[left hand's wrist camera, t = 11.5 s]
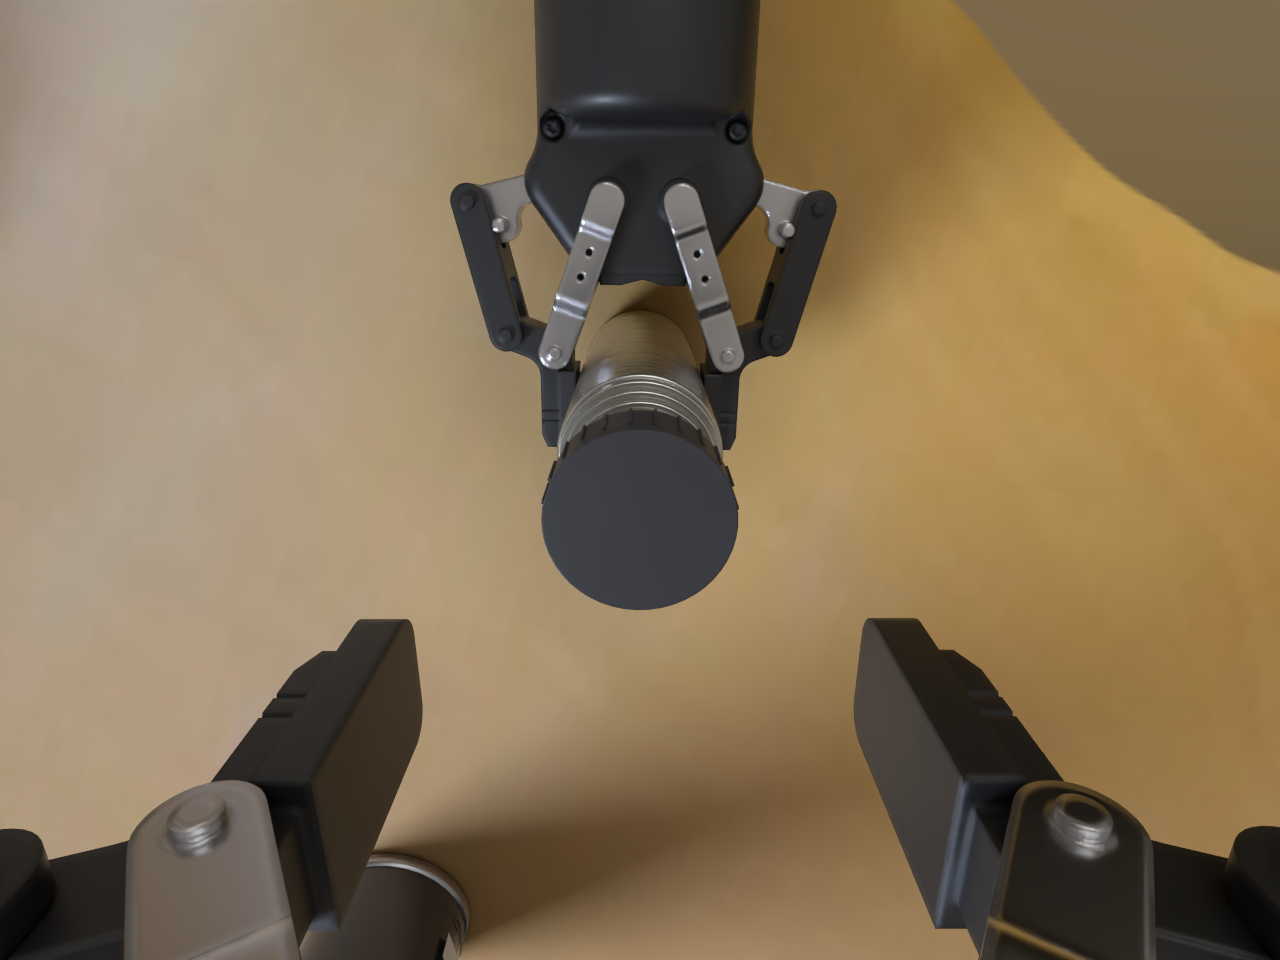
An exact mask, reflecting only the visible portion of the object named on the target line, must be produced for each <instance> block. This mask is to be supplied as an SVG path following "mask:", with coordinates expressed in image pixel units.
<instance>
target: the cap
mask: <svg viewBox="0 0 1280 960" xmlns="http://www.w3.org/2000/svg"><path fill="white" fill-rule="evenodd" d="M548 481H550V482H548V484H547V487H546V490H545V493H544V496H543V499H542V503H541V504H543V507H542V520H541V521H542V532H543V537H544V541H545V545H546V547H547V550H548V553H549V555H550V557H551V559H552V561H553V562H554V564H555V566H556V567H557V569H558V570H559V571H560V573H561V574H562V575H563V576H564V577H565V578H566V579H567V580H568V582H569V583H570V584H572V585H573V586H574V587H575V588H577V589H578V590H579V591H580V592H582V593H584V594H585V595H587V596H588V597H590V598H592V599H594V600H596V601H598V602H601V603H603V604H606V605H610V606H613V607H617V608H622V609H631V610H650V609H657V608H663V607H666V606H670V605H674V604H676V603H679V602H681V601H684V600H686V599H688V598H689V597H691V596H693V595H695V594H696V593H698V592H699V591H701V590H702V589H703V588H705V587H706V586H707V585H708V584H709V583H710V582H711V581H712V580H713V579H714V578H715V577H716V576H717V575H718V574H719V572H720V571H721V570H722V568H723V567H724V565H725V564H726V562H727V560H728V558H729V556H730V554H731V552H732V550H733V547H734V544H735V540H736V536H737V529H738V510H739V506H738V503H737V500H736V497H735V494H734V491H733V488H732V487H733V486H734V483H733V480H732V477H731V474H730V471H729V468H728V466H725V465H724V463H723V461H722V458H721V455H720V452H719V449H718V447H717V445H715V446H713V444H712V443H711V442H710V441H709V440H708V438H707V437H705V436H704V435H703V433H702V430H701V429H700V428H699V429H696V428H695V427H693V426H692V425H690V424H689V423H687V422H685V421H683V420H682V419H681V416H677V417H674V416H671V415H669V414H665V413H661V412H657V409H654V410H653V411H648V410H632V408H629V410H628V411H624V412H618V413H615V414H611V415H608V414H604V417H603V418H601V419H598V420H596V421H594V422H593V423H591V424H589V425H588V426H586V425H584V426H582V430H581V431H580V432H579V433H577V434H576V435H575V436H574V437H573V438H572V439H571V440H570V442H568V441H566V442H565V445H564V448H563V451H562V452H561V454H560V456H559V458H558V460H557V461H555V460H554V462H553V465H552V468H551V471H550V474H549V477H548Z"/></svg>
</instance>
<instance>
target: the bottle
mask: <svg viewBox="0 0 1280 960" xmlns="http://www.w3.org/2000/svg"><path fill="white" fill-rule="evenodd" d="M629 408H632V410H648V411H653V410H654V409H657V412H661V413H665V414H669V415H671V416H674V417H677V416H681V419H682V420H683V421H685V422H687V423H689V424H690V425H692V426H693V427H695V428H696V429H699V428H700V429H701V430H702V433H703V435H704V436H705V437H707V438H708V440H709V441H710V442H711V443H712V444H713V446H715V445H717V447H718V449H719V452H720V455H721V458H722V460H723V446H722V438H721V434H720V431H719V427H718V424H717V422H716V419H715V416H714V413H713V411H712V408H711V405H710V402H709V399H708V397H707V394H706V391H705V388H704V386H703V383H702V380H701V377H700V375H699V372H698V369H697V366H696V363H695V361H694V358H693V355H692V352H691V350H690V347H689V344H688V342H687V339H686V338H685V336H684V334H683V333H682V331H681V330H680V329H679V328H678V327H677V326H676V325H675V324H674V323H673V322H672V321H670V320H669V319H668V318H666V317H664V316H662V315H660V314H657V313H654V312H650V311H642V310H641V311H630V312H626V313H622V314H620V315H618V316H616V317H614V318H612V319H611V320H609V321H608V322H607V323H605V324H604V325H603V326H602V327H601V328H600V330H599V331H598V332H597V334H596V335H595V337H594V339H593V341H592V343H591V346H590V349H589V352H588V354H587V357H586V360H585V363H584V365H583V368H582V371H581V374H580V377H579V379H578V382H577V385H576V388H575V391H574V393H573V396H572V399H571V402H570V405H569V407H568V410H567V413H566V416H565V418H564V421H563V424H562V427H561V430H560V433H559V437H558V442H557V460H558V458H559V456H560V454H561V452H562V451H563V448H564V445H565V442H566V441H568V442H570V440H571V439H572V438H573V437H574V436H575V435H576V434H577V433H579V432H580V431H581V430H582V426H584V425H586V426H588V425H589V424H591V423H593V422H594V421H596V420H598V419H601V418H603V417H604V414H608V415H611V414H615V413H618V412H624V411H628V410H629Z"/></svg>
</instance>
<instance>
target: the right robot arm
mask: <svg viewBox="0 0 1280 960" xmlns="http://www.w3.org/2000/svg"><path fill="white" fill-rule="evenodd" d="M534 8H535V45H536V81H537V117H538V134H537V141H536V145H535V148H534V151H533V154H532V156H531V158H530V160H529V162H528V164H527V167H526V170H525V175H521V176H517V177H513V178H509V179H505V180H501V181H497V182H493V183H488V184H484V185H478V184H471V183H462V184H459V185H458V186H456V187H455V188H454V190H453V191H452V193H451V198H450V202H451V207H452V210H453V213H454V217H455V220H456V224H457V227H458V231H459V234H460V237H461V241H462V244H463V248H464V251H465V254H466V258H467V261H468V265H469V268H470V271H471V275H472V278H473V282H474V285H475V289H476V292H477V295H478V299H479V302H480V306H481V309H482V312H483V316H484V319H485V323H486V326H487V329H488V333H489V336H490V339H491V342H492V344H493V345H494V346H495V347H496V348H497V349H499V350H501V351H513V352H515V353H518V354H521V355H523V356H526V357H528V358H530V359H532V360H533V361H534V362H535V363H536V364H537V366H538V367H539V370H540V373H541V399H542V434H543V437H544V439H545V441H546V443H547V446H548V447H557V442H558V437H559V433H560V430H561V427H562V424H563V421H564V418H565V416H566V413H567V410H568V407H569V405H570V402H571V399H572V396H573V393H574V391H575V388H576V385H577V382H578V379H579V377H580V361H575V347H576V344H577V341H578V338H579V335H580V332H581V330H582V327H583V324H584V321H585V318H586V316H587V313H588V310H589V307H590V305H591V302H592V299H593V297H594V294H595V291H596V288H597V285H598V283H599V282H600V285H623V284H627V283H631V282H634V281H638V280H646V281H650V282H653V283H657V284H660V285H663V286H685V283H686V286H687V289H688V292H689V296H690V299H691V302H692V305H693V307H694V310H695V313H696V316H697V320H698V323H699V326H700V329H701V332H702V335H703V339H704V342H705V345H706V362H705V363H700V377H701V380H702V383H703V386H704V388H705V391H706V394H707V397H708V399H709V402H710V405H711V408H712V411H713V413H714V416H715V419H716V422H717V424H718V427H719V431H720V434H721V438H722V446H723V450H730V449H731V447H732V444H733V442H734V440H735V438H736V423H737V408H738V392H739V378H740V374H741V372H742V370H743V369H744V368H745V366H746V365H748V364H749V363H751V362H753V361H755V360H758V359H761V358H764V357H767V356H774V357H778V356H782V355H784V354H786V353H787V352H788V351H789V350H790V348H791V346H792V344H793V341H794V338H795V335H796V332H797V329H798V326H799V323H800V320H801V317H802V314H803V311H804V308H805V304H806V301H807V298H808V295H809V292H810V289H811V286H812V283H813V280H814V277H815V274H816V271H817V268H818V265H819V262H820V259H821V256H822V253H823V250H824V247H825V244H826V241H827V238H828V235H829V232H830V229H831V226H832V223H833V220H834V217H835V214H836V209H837V205H836V201H835V198H834V197H833V196H832V194H830V193H829V192H827V191H824V190H808V191H805V190H801V189H798V188H794V187H791V186H787V185H784V184H780V183H776V182H773V181H769V180H766V179H764V177H763V172H762V169H761V166H760V164H759V162H758V160H757V158H756V155H755V151H754V147H753V141H752V127H753V110H754V94H755V78H756V62H757V46H758V30H759V13H760V0H534ZM531 202H532V203H533V205H534V206H535V208H536V209H537V210H538V212H539V213H540V215H541V216H542V218H543V219H544V220H545V222H546V223H547V225H548V226H549V228H550V229H551V230H552V232H553V233H554V235H555V236H556V237H557V239H558V240H559V242H560V243H561V245H562V246H563V247H564V249H565V250H566V252H567V253H568V255H569V259H568V262H567V265H566V268H565V271H564V273H563V276H562V279H561V282H560V285H559V288H558V291H557V294H556V297H555V301H554V305H553V309H552V312H551V315H550V318H549V321H548V323H547V324H546V323H543V322H541V321H538V320H536V319H533V318H530V317H529V315H528V312H527V308H526V304H525V301H524V297H523V293H522V290H521V286H520V282H519V279H518V275H517V271H516V268H515V264H514V260H513V257H512V253H511V249H510V246H509V241H512V240H514V239H516V238H517V237H518V236H519V234H520V232H521V229H522V222H521V215H522V212H523V209H524V208H525V207H526V206H527V205H528V204H529V203H531ZM755 206H756V207H758V208H759V209H760V210H761V211H762V212H763V214H764V216H765V236H766V238H767V240H768V241H769V242H770V243H771V244H773V245H775V246H777V248H776V251H775V255H774V258H773V261H772V264H771V268H770V271H769V274H768V277H767V281H766V284H765V287H764V290H763V294H762V297H761V300H760V303H759V307H758V310H757V313H756V316H755V319H754V321H752V322H749V323H746V324H743V325H740V326H737V327H736V325H735V321H734V318H733V315H732V311H731V308H730V302H729V298H728V295H727V291H726V288H725V285H724V281H723V278H722V275H721V271H720V268H719V265H718V261H717V257H718V255H719V254H720V253H721V252H722V250H723V249H724V248H725V246H726V245H727V244H728V242H729V241H730V240H731V238H732V237H733V236H734V234H735V233H736V232H737V230H738V229H739V228H740V226H741V225H742V224H743V222H744V221H745V220H746V218H747V217H748V216H749V214H750V213H751V212H752V210H753V209H754V208H755Z"/></svg>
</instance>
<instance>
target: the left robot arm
mask: <svg viewBox="0 0 1280 960" xmlns="http://www.w3.org/2000/svg"><path fill="white" fill-rule="evenodd" d="M854 721H855V728H856V733H857V737H858V741H859V744H860V746H861V749H862V751H863V753H864V756H865V758H866V761H867V763H868V766H869V768H870V770H871V773H872V775H873V778H874V780H875V783H876V785H877V788H878V790H879V792H880V795H881V797H882V800H883V802H884V805H885V807H886V809H887V812H888V814H889V817H890V819H891V822H892V824H893V827H894V829H895V831H896V834H897V836H898V839H899V841H900V844H901V846H902V848H903V851H904V853H905V856H906V858H907V861H908V863H909V866H910V868H911V870H912V873H913V875H914V878H915V880H916V883H917V885H918V887H919V890H920V892H921V895H922V897H923V900H924V902H925V905H926V907H927V909H928V912H929V914H930V917H931V919H932V922H933V924H934V926H935V929H968V932H969V934H970V936H971V938H972V940H973V943H974V945H975V947H976V949H977V951H978V954H979V959H978V960H1280V827H1274V826H1258V827H1251V828H1248V829H1245V830H1243V831H1242V832H1240V833H1239V834H1238V836H1237V837H1236V838H1235V841H1234V844H1233V847H1232V850H1231V852H1230V855H1229V858H1224V857H1219V856H1215V855H1211V854H1207V853H1202V852H1198V851H1194V850H1190V849H1185V848H1181V847H1177V846H1173V845H1168V844H1164V843H1160V842H1156V841H1153V840H1151V839H1150V837H1149V835H1148V833H1147V832H1146V830H1145V829H1144V827H1143V826H1142V825H1141V823H1140V822H1139V821H1138V820H1137V819H1136V818H1135V817H1134V816H1133V815H1132V814H1131V813H1130V812H1129V811H1127V810H1126V809H1125V808H1123V807H1122V806H1121V805H1119V804H1118V803H1116V802H1115V801H1113V800H1111V799H1110V798H1108V797H1106V796H1104V795H1102V794H1100V793H1098V792H1096V791H1094V790H1091V789H1089V788H1086V787H1084V786H1080V785H1077V784H1073V783H1069V782H1064V780H1063V779H1062V778H1061V776H1060V775H1059V774H1058V772H1057V771H1056V770H1055V768H1054V767H1053V766H1052V764H1051V763H1050V762H1049V760H1048V759H1047V758H1046V756H1045V755H1044V753H1043V752H1042V751H1041V749H1040V748H1039V747H1038V745H1037V744H1036V743H1035V741H1034V740H1033V739H1032V737H1031V736H1030V735H1029V733H1028V732H1027V730H1026V729H1025V728H1024V726H1023V725H1022V724H1021V722H1020V721H1019V720H1018V718H1017V717H1016V716H1013V714H1012V710H1011V709H1010V708H1009V706H1008V705H1007V703H1006V702H1005V701H1004V699H1003V698H1002V697H999V696H998V691H997V690H996V689H995V687H994V686H993V685H992V683H991V682H990V681H989V679H988V678H987V676H986V675H985V674H984V672H983V671H982V670H981V669H980V668H978V667H977V666H976V665H974V664H973V663H971V662H970V661H968V660H967V659H966V658H964V657H963V656H961V655H960V654H958V653H957V652H956V651H954V650H939V649H938V647H937V646H936V645H935V643H934V642H933V640H932V639H931V637H930V636H929V634H928V633H927V631H926V630H925V628H924V627H923V625H922V624H921V623H920V621H919V620H918V619H916V618H868V619H867V620H866V621H865V623H864V626H863V631H862V638H861V646H860V655H859V663H858V672H857V680H856V689H855V697H854ZM421 724H422V696H421V688H420V679H419V671H418V663H417V654H416V646H415V638H414V631H413V627H412V624H411V622H410V621H409V620H408V619H361V620H358V621H357V622H356V623H355V625H354V626H353V628H352V629H351V631H350V632H349V633H348V635H347V636H346V638H345V639H344V641H343V642H342V644H341V645H340V647H339V648H338V649H337V651H322V652H320V653H319V654H318V655H316V656H315V657H313V658H312V659H310V660H309V661H308V662H306V663H305V664H303V665H302V666H300V667H299V668H297V669H296V670H295V671H294V672H293V673H292V674H291V676H290V677H289V678H288V680H287V681H286V682H285V684H284V685H283V686H282V688H281V689H280V690H279V692H278V693H277V698H273V700H272V701H271V702H270V704H269V705H268V706H267V708H266V709H265V710H264V712H263V716H262V718H258V720H257V721H256V722H255V724H254V725H253V726H252V728H251V729H250V730H249V732H248V733H247V734H246V736H245V737H244V738H243V740H242V741H241V742H240V744H239V745H238V746H237V748H236V749H235V750H234V752H233V753H232V754H231V756H230V757H229V758H228V760H227V761H226V762H225V764H224V765H223V766H222V768H221V769H220V771H219V772H218V773H217V775H216V776H215V777H214V779H213V780H212V781H211V783H207V784H203V785H200V786H196V787H194V788H191V789H189V790H186V791H184V792H182V793H180V794H178V795H176V796H174V797H172V798H170V799H169V800H167V801H165V802H164V803H162V804H161V805H159V806H158V807H157V808H155V809H154V810H153V811H151V812H150V813H149V814H148V815H147V816H146V817H145V818H144V819H143V820H142V821H141V822H140V823H139V825H138V826H137V827H136V829H135V830H134V832H133V833H132V835H131V837H130V839H129V840H128V841H125V842H122V843H118V844H115V845H111V846H107V847H102V848H98V849H94V850H90V851H85V852H81V853H77V854H73V855H68V856H64V857H60V858H56V859H51V860H48V857H47V854H46V852H45V849H44V846H43V843H42V841H41V839H40V838H39V837H38V836H37V835H36V834H34V833H33V832H30V831H27V830H23V829H1V830H0V960H459V956H460V954H461V950H462V945H463V943H464V940H465V937H466V933H467V929H468V924H469V916H470V915H469V906H468V903H467V900H466V897H465V895H464V893H463V892H462V890H461V888H460V887H459V886H458V885H457V883H456V882H455V881H454V880H453V879H452V878H451V877H450V876H448V875H447V874H446V873H445V872H443V871H442V870H440V869H439V868H437V867H436V866H434V865H432V864H430V863H427V862H425V861H423V860H420V859H417V858H413V857H409V856H404V855H398V854H374V855H371V854H372V851H373V849H374V846H375V844H376V842H377V839H378V837H379V834H380V832H381V830H382V827H383V825H384V822H385V820H386V818H387V815H388V813H389V810H390V808H391V806H392V803H393V801H394V798H395V796H396V794H397V791H398V789H399V786H400V784H401V782H402V779H403V777H404V774H405V772H406V770H407V767H408V765H409V762H410V760H411V758H412V755H413V753H414V750H415V748H416V745H417V743H418V740H419V736H420V731H421Z"/></svg>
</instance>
